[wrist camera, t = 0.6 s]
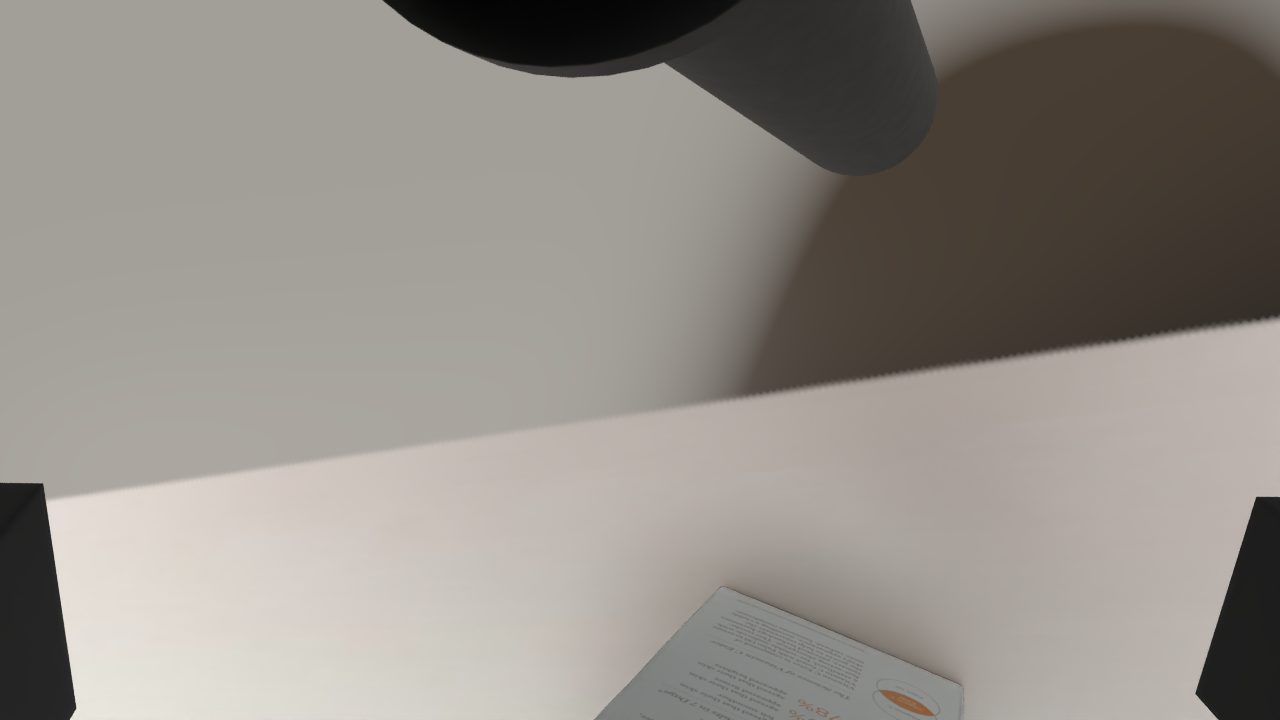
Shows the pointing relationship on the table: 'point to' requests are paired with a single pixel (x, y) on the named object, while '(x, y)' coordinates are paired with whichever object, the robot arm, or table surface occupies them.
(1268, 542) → the robot arm
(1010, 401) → the table surface
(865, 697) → the small box
